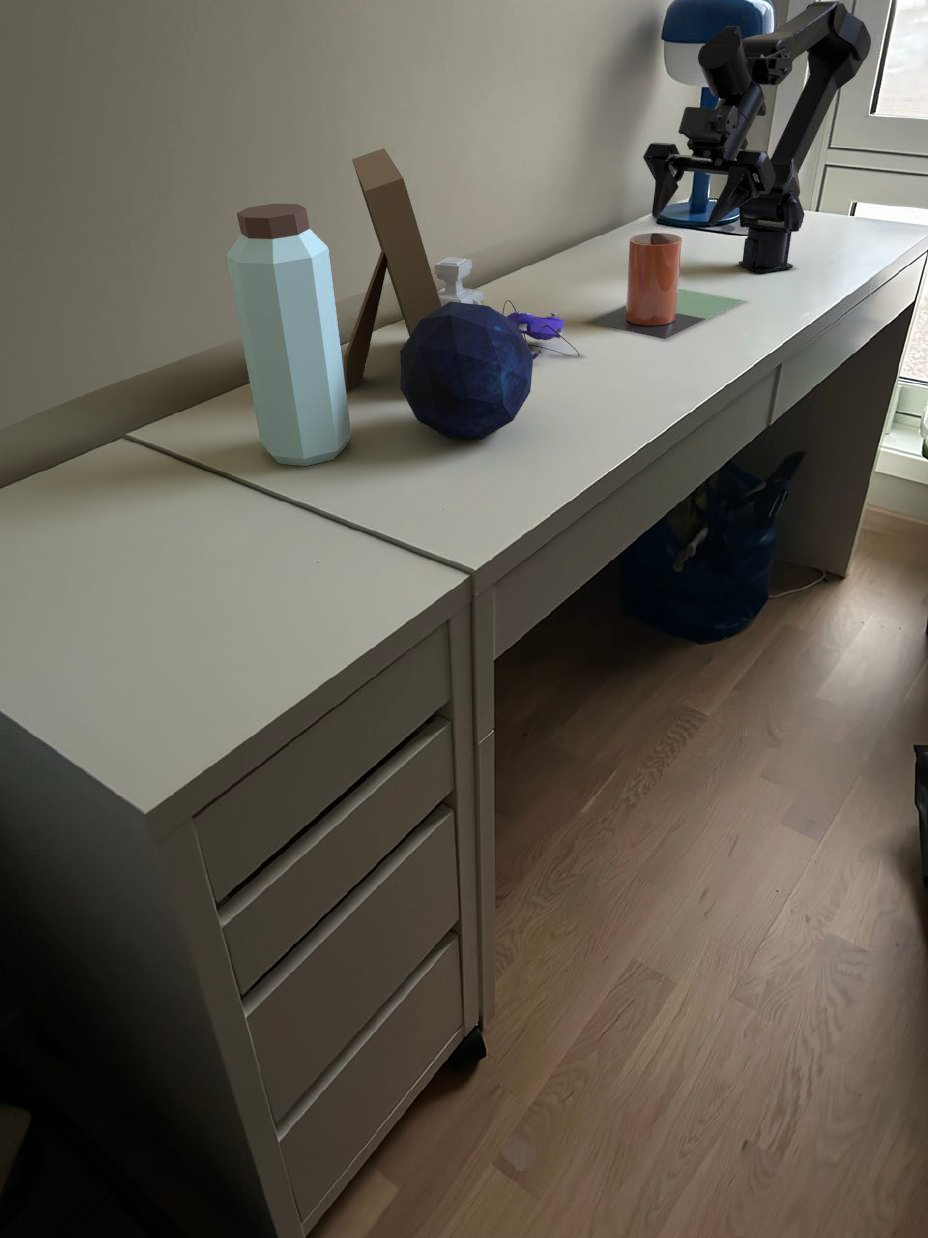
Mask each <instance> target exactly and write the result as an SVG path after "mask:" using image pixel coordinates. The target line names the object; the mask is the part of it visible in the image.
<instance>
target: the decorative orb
mask: <svg viewBox="0 0 928 1238" xmlns="http://www.w3.org/2000/svg"><path fill="white" fill-rule="evenodd" d="M502 314H503V313H501V312H499V311H498V310H497V309H494V308H493V307H491V306H490V305H486V304H481V305H478V304H468V303H459V302H449V303H447V304H445V305H444V306H442V307H441V308H439V309H437V310H436V311H434V312H432V313H431V314H429V315H427V316H426V317H424V318H423V319H421V320H420V321H419V323H418V325H417V326H416V328H415V329H414V331H413V332H412V334H411V335H410V337H409V336H408V339H407V340H406V341H405V343H404V345H403V346H402V348H401V349H400V351H399V352H400V353H399V388H400V390H401V393H402V394H403V397H404V398H405V400H406V402H407V404H408V407H409V408H410V410H411V412H412V414H413V415H414V417H415V419H416V421H417V422H419V423H421V424H423V425H424V426H426V427H428V428H430V430H431V429H432V430H433V431H434V432H437V433H438V434H440V435H442V436H443V437H445V438H447V439H448V440H449V439H451V440H452V439H453V440H479V441H480V440H483V439H485V438H487V437H488V436H490V435H492V434H493V433H495V432H496V431H498V430H500V429H501V428H503V427H505V426H507V425H508V424H510V423H512V422H513V421H514V420H515V419H516V417H517V415H518V413H519V412H520V410H521V409H522V407H523V405H524V403H525V402H526V400H527V398H528V396H529V395H530V393H531V388H532V387H531V386H532V376H533V366H534V365H533V364H534V360H533V354H534V353H533V352H532V350H531V349H530V346H528V345H529V344H528V343H527V342H526V341H527V340H526V341H525V338H524V334H522V333H521V332H520V330H519V328H518V326H517V324H516V323H515V322H513V321H512V320H510V319H509V318H507V317H506V315H504V314H503V315H502ZM527 344H528V345H527Z"/></svg>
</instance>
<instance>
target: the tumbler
mask: <svg viewBox="0 0 928 1238" xmlns="http://www.w3.org/2000/svg"><path fill="white" fill-rule="evenodd" d="M682 244H683V238H682V237H681V236H680V235H677V234H673V233H666V232H665V233H664V232H650V233H649V232H648V233H640V234H635V235H633V236H632V237H630V238H629V244H628V245H629V246H628V247H629V248H628V267H627V270H628V271H627V285H626V287H627V289H626V305H625V306H626V320H627V321H629V322H631V323H634V324H638V325H645V326H656V325H664V324H668V323H671V322H673V321H674V320H675V319H676V308H677V296H678V289H679V284H680V283H679V281H680V270H681V269H680V268H681V257H682Z"/></svg>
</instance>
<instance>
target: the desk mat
mask: <svg viewBox="0 0 928 1238" xmlns="http://www.w3.org/2000/svg"><path fill="white" fill-rule="evenodd" d="M742 302H743V300H741V299H736V298H735V299H734V298H729V297H723V296H718V295H713V294H709V293H708V294H707V293H702V292H696V291H691V290H686V289H680V288H678V296H677V308H676V319H675V320H674V321H673V322H671V323H668V324H664V325H656V326H645V325H638V324H634V323H631V322H629V321H627V320H626V305H625V306H622V307H620V308H618V309H615V310H613V311H611V312H608V313H606V314H603V315H601V316H600V317H597V318H595V319H593V320H590V321H588V323H590V324H594V325H599V326H604V327H607V328H613V329H617V330H622V331H626V332H632V333H634V334H640V335H643V336H644V335H645V336H649V337H654V338H659V339H663V340H667V339H668V338H671V337H673V336H675V335H676V334H679V333H681V332H682V331H685V330H687V329H688V328H689V329H690V328H691V327H693V326H695V325H697V324H700V323H701V322H703V321H705V320H707V319H710V318H712V317H714V316H716V315H718V314H719V313H722V312H723V311H726V310H728V309H730V308H732V307H734V306H736V305H738V304H740V303H742Z"/></svg>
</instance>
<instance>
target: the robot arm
mask: <svg viewBox="0 0 928 1238" xmlns="http://www.w3.org/2000/svg"><path fill="white" fill-rule="evenodd" d="M871 46H872V38H871V34H870V33H869V31H868V27H867V26H866V24H865V22H864V21H863V20H862V19H860V18H859V17H856V15H854V14H852V13H851V12H850V11H848V9H847V8H846V5H845V4H844V3H843V2H840V1H839V0H828V1H827V0H825V1H823V0H821V1H819V0H818V1H816V0H815V1H813V2H812V3H809V4H808V5H807V6H806V8H805V9H804V10H802V11H801V12H800V13H798V14H797V15H796V16H794V17H793V18H791V19H790V20H788V21H787V22H785V23H784V24H782V25H781V26H780V27H778V28H776V29H775V30H774V31H771V32H769V33H768V32H767V33H762V34H755V35H752V36H748V37H745V38H743V35H742V30H741V28H740V26H739V25H730V26H729V25H726V26H724V29H723V30H722V32H720V33H718V34H716V35H714V36H712V37H711V38H710V39H709V40H707V41H706V42H705V44H703V45H701V47H700V49H699V51H698V54H697V61H698V65H699V67H700V69H701V72H702V74H703V77H704V80H705V82H706V84H707V86H708V89H709V91H710V94H711V95H712V96H713V97H715V98H717V99H718V101H717V104H716V106H715V108H711V107H699V106H685V107H684V111H683V114H682V117H681V121H680V125H679V128H678V131H677V132H678V134H680V135H683V136H684V137H685V138H687V139H688V141H687V143H686V146H687V147H688V150H690V151H692V153H691V155H690V154H681V153H680V152H679V149H678V147H677V145H676V143H667V142H651V143H649V144H648V147H647V148H646V150H645V152H644V154H643V156H642V158H643V161H644V162H645V164H646V166H647V168H648V170H649V172H650V174H651V176H652V177H653V179H654V182H655V183H654V185H655V186H654V195H653V200H652V208H651V209H652V210H651V216H652V217H653V219H657V218H659V216H660V215H661V214H662V213H663V211H664V210H665V208H666V207H667V205H669V203H670V201H671V199H672V198H673V197H674V195H675V193H676V192H677V191H678V189H679V187H680V186H679V184H678V182H680V181H681V180H682V179H683V176H684V175H685V172H687V173H688V172H689V173H698V174H705V175H709V176H716V177H717V176H718V177H727V179H726V183H725V185H724V187H723V190H722V191H721V193H720V195H719V197H718V199H717V201H716V202H715V204H714V206H713V209H712V210H711V213H710V216H709V217H708V224H709V226H710V227H714V226H715V225H716V224H717V223H718V222H721V221H722V220H723V219H724V218H725V217H726V216H728V215H729V214H730V213H731V212H733V211H734V210H736V209H737V208H738V212H739V213H738V216H739V228H748V229H747V237H745V239H744V245H743V253H742V260H740V261H738V265H739V266H741V267H743V268H746V269H748V270H750V271H752V272H755V273H757V274H764V273H771V272H778V271H784V270H791V269H793V268H794V264H792V263H790V262H788V261H789V253H790V246H791V239H792V234H793V233H796V232H799V231H800V229H801V228H802V226H803V223H804V219H805V211H804V208H803V205H802V203H801V201H800V198H799V197H800V196H801V195H800V194H801V187H800V185H801V184H800V178H799V174H800V171H801V169H802V166H803V165H804V162H805V160H806V158H807V155H808V152H809V151H810V150H811V147H812V145H813V143H814V141H815V138H816V136H817V135H818V132H819V130H820V128H821V126H822V124H823V122H824V119H825V118H826V115H827V113H828V111H829V108H830V106H831V104H832V102H833V100H834V98H835V96H836V94H837V91H838V90H839V89H841V88H842V87H843V86H844V85H846V84H847V83H849V82H850V81H851V80H852V79H854V78H855V76H856V75H857V74H858V72H859V70H860V68H861V67H862V65H863V63H864V61H866V59H867V58H868V57H869V54H870V51H871ZM805 52H807V66H808V71H809V75H808V78H807V80H806V83H805V84H804V86H803V88H802V91H801V94H799V97H798V99H797V102H796V104H795V105H794V108H793V109H792V111H791V115H790V116H789V119H788V120H787V123H786V125H785V127H784V129H783V132H782V133H781V136H780V137H779V140H778V142H777V143H776V144H777V145H776V147H775V148H774V150H773V153H772V155H771V157H770V156H769V154H768V151H767V150H757V149H747V147H748V145H749V142H748V140H747V136H748V134H749V132H750V130H751V128H752V126H753V124H754V121H755V120H756V118H757V117H765V116H766V114H767V104H766V101H765V98H766V97H765V94H764V91H763V89H762V86H768V87H769V86H770V87H771V86H772V87H777V86H779V85H780V84H781V83H783V81H784V80H785V79H786V78H787V77H788V76H789V74H791V72H792V71H793V62H794V61H795V60H796V59H797V58H798V57H800V56H801V55H802V54H804V53H805Z"/></svg>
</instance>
